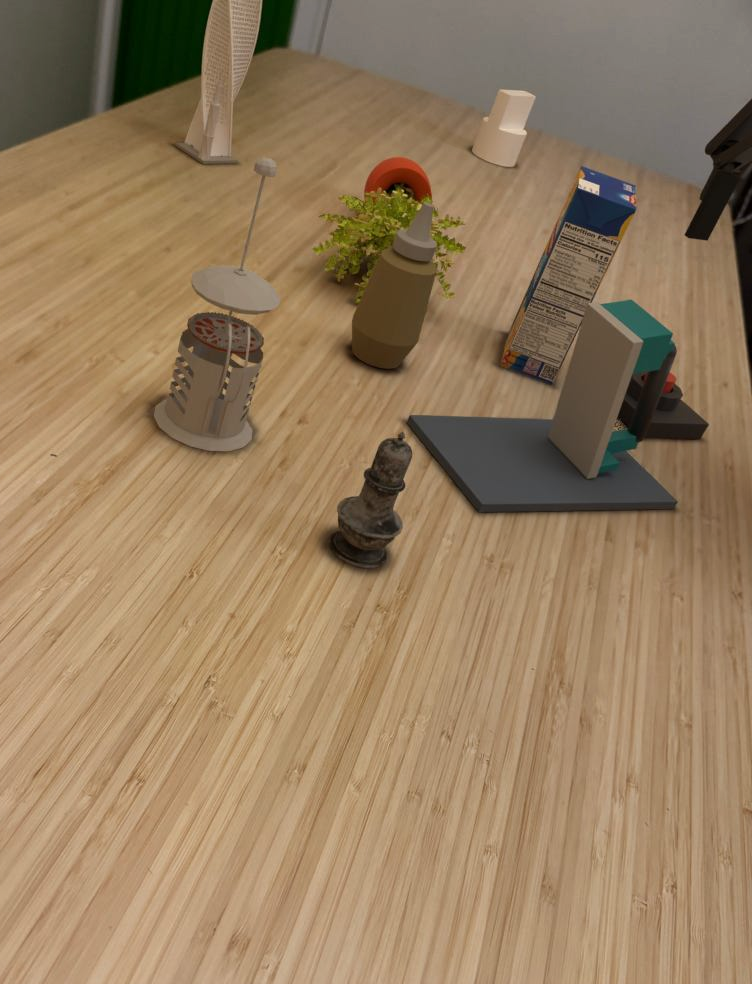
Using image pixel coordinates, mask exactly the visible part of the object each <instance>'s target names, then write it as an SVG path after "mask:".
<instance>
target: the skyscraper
mask: <svg viewBox="0 0 752 984" xmlns="http://www.w3.org/2000/svg"><path fill="white" fill-rule="evenodd" d="M262 8H263V0H212V2H211V5H210V9H209V13H208V18H207V22H206V28H205V33H204V39H203V47H202V56H201V57H202V58H201V59H202V60H201V74H200V75H201V78H200V80H201V81H200V87H201V88H200V92H201V94H200V99H199V101H198V105H197V107H196V110H195V112H194V116H193V117H192V120H191V122H190V126H189V128H188V131H187V134H186V137H185V139H184V142H174V146H175V147H176V148H178V149H179V150H180V151H183V152H184V153H185V154H187V155H189V156H190V157H192V158H193V159H195V160H196V161H198V162H199V163H201V164H202V165H214V164H215V165H217V164H219V165H220V164H221V165H222V164H237V163H238V160H237V159H236V158H234V157H232V139H233V138H232V137H233V114H234V113H233V111H234V110H233V108H234V102H235V100H236V98H237V96H238V94H239V92H240V90H241V87H242V85H243V84H244V81H245V78H246V75H247V74H248V69H249V68H250V66H251V65H250V64H251V62H252V59H253V56H254V53H255V48H256V45H257V40H258V36H259V31H260V25H261V18H262Z"/></svg>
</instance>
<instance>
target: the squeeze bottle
mask: <svg viewBox="0 0 752 984" xmlns="http://www.w3.org/2000/svg"><path fill="white" fill-rule="evenodd" d="M434 207H435V205H434V204H433V203H432V204H431V203H428V202H424V203H423V205H422V206H421V208H420V210H419V211H418V213H417V215H416V217H415V218H414V220H413V222H412V223H411V225H410V227H409V228H408V229H401V230H398V231H397V233H396V236H395V239H394V242H393V246H392V247H389V248H387V249H385V250H382V252H381V254H380V256H379V258H378V261H377V263H376V264H375V267H374V270H373V272H372V274H371V277H370V276H369V277H370V279H369V278H368V279H369V281H368V283H367V285H366V288H364V289H363V290H364V292H363V295H362V296H360V298H359V299H360V302H359V304H357V306H356V308H355V311H354V312H353V315H352V318H351V319H352V320H351V351H352V353H353V355H354V356H355V357H356V358H357V359H358V360H360V361H362V362H364V363H366V364H367V365H369V366H372V367H376V368H379V369H386V370H390V369H396V368H398V367H399V366H401V364H402V363H403V361H404V360H405V359H406V358H407V357H408V355H409V354H410V353H411V352H412V350H413V349H414V348H415V347H416V345H417V344H418V343H419V339H420V335H421V332H422V328H423V325H424V321H425V317H426V313H427V309H428V307H429V302H430V298H431V294H432V290H433V286H434V284H435V283H434V282H435V280H436V279H435V278H436V276H435V275H436V270H438V267H437V268H436V266H435V265H434V261H432V259H434V255H435V250H436V247H437V243H436V242H435V241H434V239H432V238H431V237H430V230H431V223H432V220H433V217H432V216H433V210H434Z"/></svg>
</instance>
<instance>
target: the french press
mask: <svg viewBox="0 0 752 984" xmlns="http://www.w3.org/2000/svg"><path fill="white" fill-rule="evenodd" d="M253 171H254V172H255V173H256V174H258V175H259V176H261V180H260V183H259V184H260V185H259V189H258V191H257V192H258V193H257V197H256V200H255V205H254V209H253V214H252V218H251V221H250V226H249V230H248V233H247V238H246V242H245V246H244V251H243V254H242V259H241V263H240V266H237V265H236V266H235V265H231V264H221V265H210V266H207V267H204V268H201V269H199V270H197V271H196V272H194V273H192V274H191V279H190V284H191V287H192V288H193V290H194V292H195V293H196V295H197V296H199V297H200V298H201V299H203V300H204V301H206V302H207V303H209V304H211V305H213V306H215V307H217V308H219V309H221V310H225V311H229V313H228V314H227V313H225V314H224V313H223V312H216V311H211V312H210V311H205V312H200V313H199V312H197V313H195V314H194V315H192V316H190V317H189V318H188V319H187V323H186V326H187V328H186V329H185V330H184V331H182V332H181V335H180V339H179V343H178V347H177V353H178V354H179V355H180V356H177V357H175V361H174V365H175V366H176V367H177V368H175V369H173V370H172V375H171V377H172V378H173V380H172V381H170V385H169V390H170V391H171V392H170V393H168V394H167V397H166V398H165V399H163V400H162V401H160V402H159V403H158V404H156V405H155V407H154V413H153V418H154V420H155V422H156V425H157V426H158V428H159V429H161V430H162V431H163V432H164V433H165V434H167V435H168V436H169V437H170V438H172V439H173V440H175V441H178V442H179V443H182V444H184V445H186V446H188V447H191V448H194V449H195V448H196V449H200V450H204V451H207V452H231V451H235V450H239V449H243V448H244V447H246V446H247V445H248V444H249V443H251V441H252V440H253V428H252V427H251V425H250V423H249V422H248V416H249V413H250V406H251V405H252V401H253V395H254V393H255V390H256V383H257V382H258V379H259V375H260V373H259V371H260V370H261V367H262V364H263V361H264V352H263V350H262V349H261V348H262V347H263V346H264V341H265V337H264V336H263V335H262V333H261V331H260V330H259V329H258V328H257V327H255V326H254V325H252V324H251V323H250V321H249V322H247V321H244V319H241V317H240V318H237V316H236V317H235V315H233V313H235V314H240V315H252V316H258V315H263V314H266V313H268V314H269V313H270V312H271V311H273V310H274V309H275V308H277V307H279V306H280V305H281V296H280V295H279V293H278V292H277V291H276V289H275V288H274V286H272V284H271V283H270V282H268V281H267V280H265V279H264V278H263V277H261V276H259V275H258V274H257V273H255V272H254V271H252V270H250V269H248V268H244V266H245V262H246V257H247V254H248V249H249V246H250V241H251V236H252V233H253V229H254V225H255V221H256V218H257V213H258V209H259V205H260V201H261V197H262V192H263V187H264V184H265V179H266V177H268V178H276V175H277V163H276V161H275V160H273V159H271V158H270V157H265V156H264V157H262V156H261V157H260V158H258V159H257V160H256V162H255V163H254V167H253ZM190 348H192V352H191V351H190V350H189V349H190ZM232 355H235V356H237V357H238V358H240V359H241V360H243V361H244V364H243V365H241V364H239V363H238V362H236V361H235V360H234V359H233V358H232ZM184 362H185V363H186V364H187V365H185V366H184V365H183V363H184ZM248 363H250V364H255V365H251V366H248ZM229 367H231V370H229ZM180 375H182V376H183V377H180ZM254 378H255V380H254V381H252V380H253V379H254ZM226 379H228V382H226ZM177 387H179V388H180V389H177ZM224 390H225V394H224V393H223V391H224ZM251 390H252V391H251ZM250 392H251V393H250ZM247 404H248V405H247Z"/></svg>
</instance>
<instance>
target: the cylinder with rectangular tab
mask: <svg viewBox="0 0 752 984" xmlns="http://www.w3.org/2000/svg"><path fill="white" fill-rule="evenodd" d="M536 98H537V96H536V95H534V94H532V93H530V92H529V91H526V90H520V89H519V90H517V89H516V90H515V89H498V91H497V93H496V97H495V99H494V102H493V105H492V107H491V110H490V112H489V116H485V117H483V118H482V121H481V124H480V127H479V130H478V131H477V132H478V133H477V134H476V138H475V141H474V143H473V146H472V149H471V152H472V153H473V154H474V155H475V156H476V157H478V158H479V159H481V160H483V161H486V162H488V163H491V164H494V165H497V166H501V167H505V168H506V167H507V168H512V167H515V166H516V164H517V161H518V159H519V155H520V153H521V151H522V148H523V145H524V143H525V140H526V139H527V135H528V132H527V131H526V129H524V128H525V126H526V123H527V121H528V118H529V116H530V114H531V110H532V108H533V107H534V104H535V100H536Z"/></svg>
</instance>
